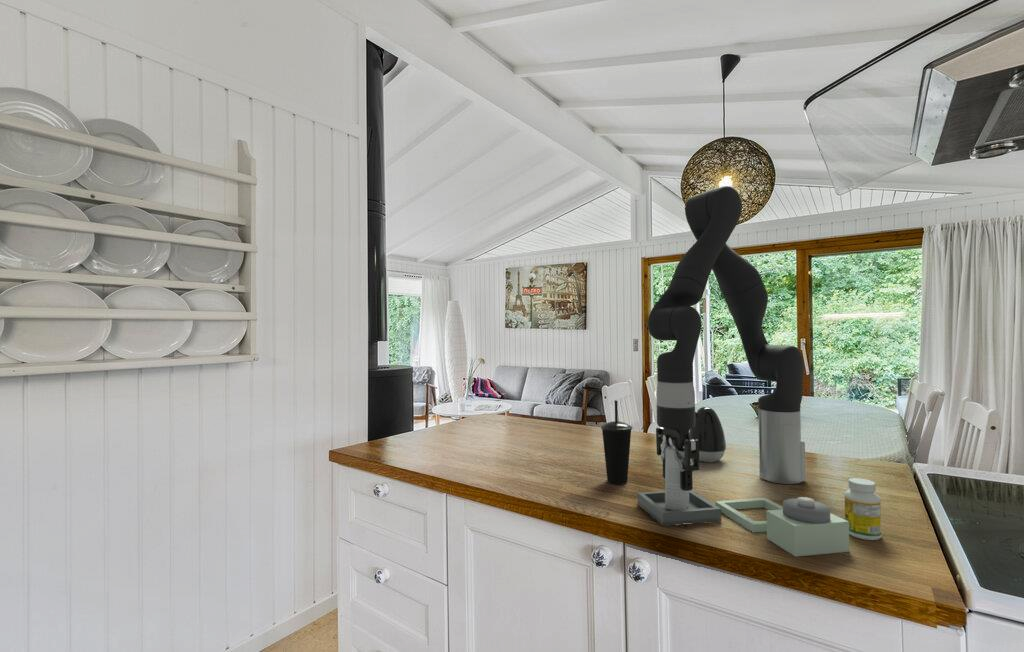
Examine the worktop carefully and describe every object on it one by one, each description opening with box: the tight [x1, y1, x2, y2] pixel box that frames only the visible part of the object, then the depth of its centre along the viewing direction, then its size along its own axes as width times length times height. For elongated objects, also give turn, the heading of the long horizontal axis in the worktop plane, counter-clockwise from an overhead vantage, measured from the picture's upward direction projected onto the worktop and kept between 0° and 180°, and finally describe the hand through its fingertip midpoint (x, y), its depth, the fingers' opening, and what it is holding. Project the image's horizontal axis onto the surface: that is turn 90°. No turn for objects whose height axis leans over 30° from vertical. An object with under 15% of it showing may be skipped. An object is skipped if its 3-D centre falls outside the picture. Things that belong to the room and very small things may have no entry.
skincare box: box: [664, 446, 689, 510], centre depth 100 cm, size 6×4×12 cm
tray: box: [637, 489, 722, 527], centre depth 100 cm, size 12×12×2 cm
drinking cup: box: [600, 400, 633, 485], centre depth 121 cm, size 8×8×20 cm
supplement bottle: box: [843, 477, 882, 541], centre depth 88 cm, size 5×5×10 cm
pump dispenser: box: [689, 406, 727, 463], centre depth 140 cm, size 10×10×15 cm
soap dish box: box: [714, 496, 850, 558], centre depth 92 cm, size 11×22×8 cm, turn 9°
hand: (677, 483), depth 100 cm, fingers closed on skincare box, 7 cm apart
